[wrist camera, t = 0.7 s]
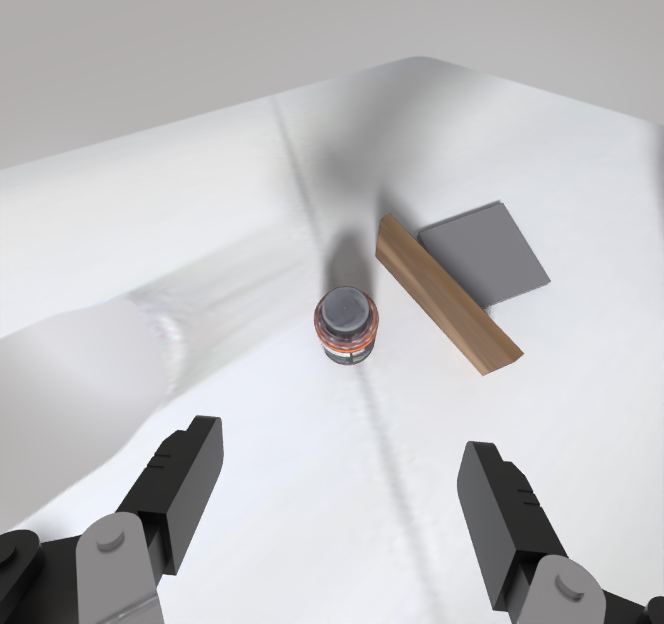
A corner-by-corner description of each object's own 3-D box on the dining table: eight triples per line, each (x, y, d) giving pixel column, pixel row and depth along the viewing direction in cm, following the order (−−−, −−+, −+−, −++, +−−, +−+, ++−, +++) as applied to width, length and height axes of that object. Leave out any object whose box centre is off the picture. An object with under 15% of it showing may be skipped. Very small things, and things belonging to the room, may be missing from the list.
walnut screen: (383, 250, 45) (389, 213, 37) (491, 369, 40) (524, 353, 32) (375, 256, 44) (380, 219, 37) (483, 375, 39) (514, 362, 32)
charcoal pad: (499, 207, 46) (503, 202, 45) (546, 284, 42) (551, 281, 41) (417, 237, 45) (418, 232, 44) (458, 317, 42) (460, 315, 41)
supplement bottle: (342, 304, 43) (340, 261, 32) (385, 335, 41) (396, 300, 31) (310, 344, 41) (295, 313, 31) (352, 377, 40) (353, 357, 29)
